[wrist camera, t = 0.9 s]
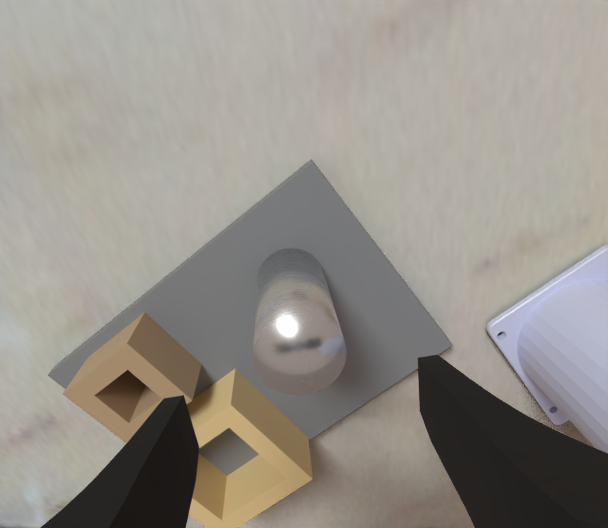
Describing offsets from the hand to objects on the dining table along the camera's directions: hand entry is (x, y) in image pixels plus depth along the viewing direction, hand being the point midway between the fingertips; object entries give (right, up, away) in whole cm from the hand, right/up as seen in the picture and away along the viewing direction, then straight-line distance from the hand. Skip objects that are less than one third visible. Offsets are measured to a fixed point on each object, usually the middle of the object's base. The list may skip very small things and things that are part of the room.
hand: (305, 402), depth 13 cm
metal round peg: (-1, +3, +9) cm, 10 cm away
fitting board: (-3, -1, +11) cm, 12 cm away
